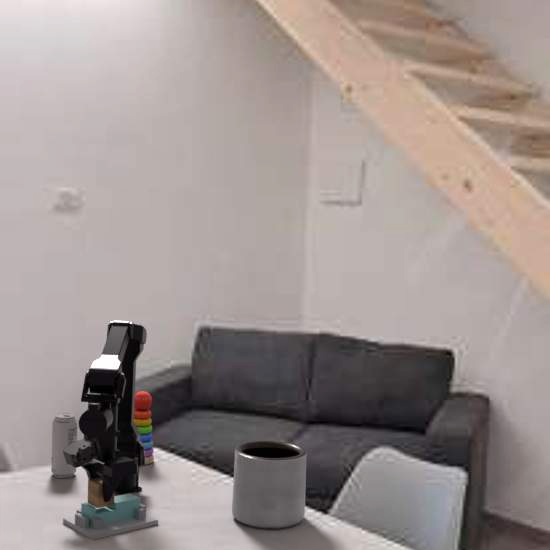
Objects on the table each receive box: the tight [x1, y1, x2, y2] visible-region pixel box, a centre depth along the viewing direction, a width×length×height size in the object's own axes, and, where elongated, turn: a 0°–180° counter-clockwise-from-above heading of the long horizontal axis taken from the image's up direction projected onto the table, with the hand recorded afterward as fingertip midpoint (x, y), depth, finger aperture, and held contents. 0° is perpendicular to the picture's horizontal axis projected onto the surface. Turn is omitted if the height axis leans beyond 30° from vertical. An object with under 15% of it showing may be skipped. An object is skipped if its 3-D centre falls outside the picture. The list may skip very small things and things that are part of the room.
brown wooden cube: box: [87, 477, 115, 508], centre depth 201 cm, size 4×4×5 cm
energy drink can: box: [50, 412, 78, 479], centre depth 235 cm, size 6×6×15 cm
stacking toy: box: [134, 390, 155, 466], centre depth 250 cm, size 8×8×19 cm
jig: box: [62, 502, 159, 541], centre depth 203 cm, size 16×12×3 cm
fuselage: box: [80, 492, 141, 527], centre depth 203 cm, size 12×4×4 cm, turn 132°
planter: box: [231, 440, 308, 530], centre depth 210 cm, size 16×16×16 cm
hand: (101, 498), depth 201 cm, fingers closed on brown wooden cube, 4 cm apart
